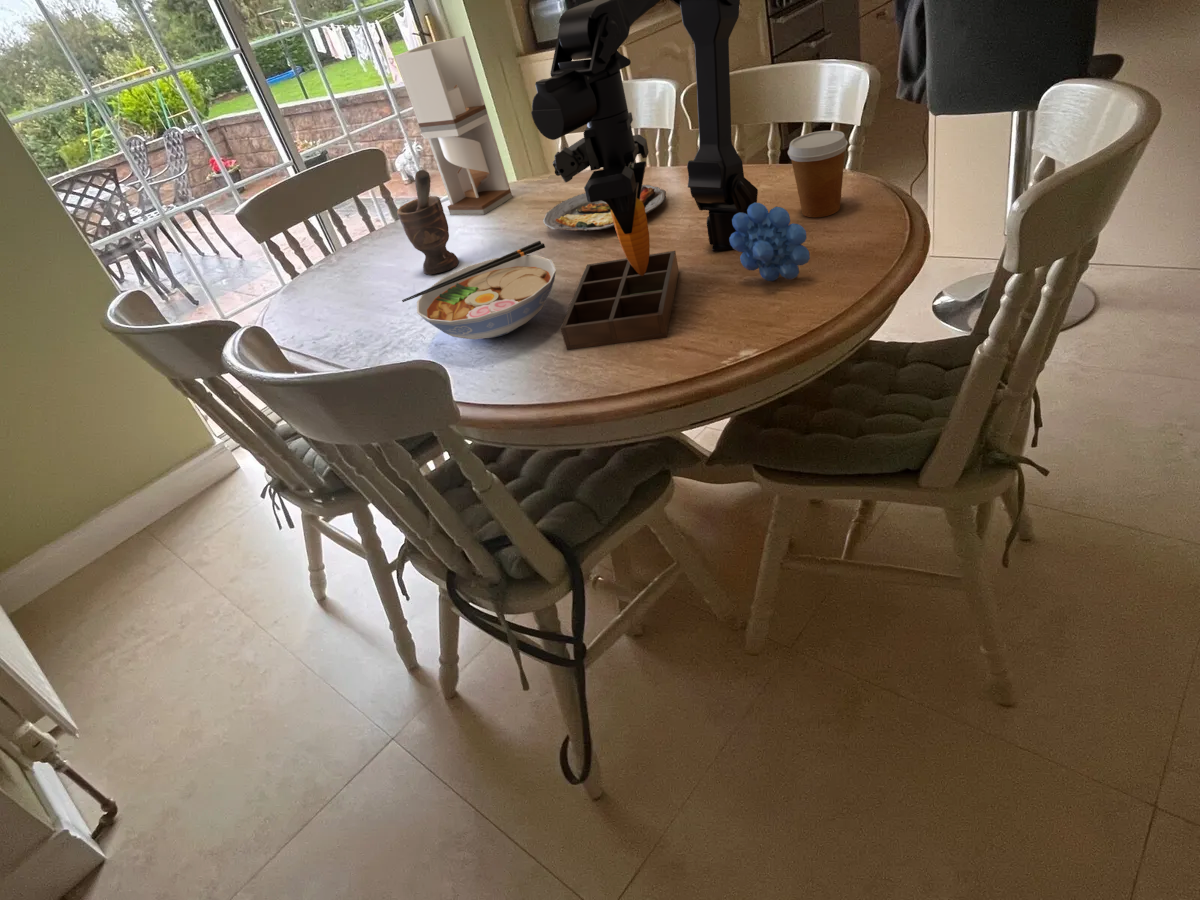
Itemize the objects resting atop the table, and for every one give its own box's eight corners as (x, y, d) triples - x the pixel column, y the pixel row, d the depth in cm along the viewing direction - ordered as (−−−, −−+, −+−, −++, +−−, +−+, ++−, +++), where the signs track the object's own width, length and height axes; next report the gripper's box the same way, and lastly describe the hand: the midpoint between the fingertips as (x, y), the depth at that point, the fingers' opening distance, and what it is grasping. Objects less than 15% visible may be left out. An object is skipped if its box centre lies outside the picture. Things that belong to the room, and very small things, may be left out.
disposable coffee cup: (818, 225, 124) (813, 152, 117) (781, 215, 131) (775, 145, 124) (862, 205, 126) (860, 132, 119) (823, 196, 134) (819, 127, 127)
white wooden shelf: (450, 214, 179) (394, 56, 159) (478, 197, 185) (428, 43, 165) (484, 214, 173) (430, 49, 153) (512, 197, 179) (464, 35, 159)
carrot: (656, 279, 109) (633, 175, 101) (623, 284, 110) (599, 183, 103) (660, 266, 113) (639, 166, 105) (629, 272, 114) (605, 173, 107)
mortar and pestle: (481, 258, 149) (447, 157, 138) (455, 278, 144) (417, 174, 132) (439, 258, 155) (403, 161, 144) (412, 277, 150) (373, 178, 138)
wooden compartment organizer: (679, 271, 122) (675, 250, 120) (666, 337, 105) (662, 314, 103) (591, 284, 126) (586, 264, 124) (566, 349, 109) (560, 328, 107)
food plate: (686, 192, 152) (683, 175, 150) (631, 240, 138) (627, 222, 136) (586, 196, 166) (583, 180, 164) (526, 240, 152) (521, 223, 150)
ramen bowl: (444, 384, 109) (424, 335, 104) (413, 332, 127) (395, 288, 122) (596, 321, 114) (583, 272, 110) (545, 279, 132) (532, 235, 128)
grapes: (725, 294, 111) (714, 216, 105) (740, 273, 116) (730, 198, 109) (803, 294, 106) (797, 212, 99) (815, 272, 110) (810, 193, 103)
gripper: (563, 107, 108) (588, 212, 117) (533, 145, 94) (565, 261, 103) (637, 91, 105) (658, 199, 114) (618, 128, 91) (643, 248, 100)
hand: (630, 226), depth 108 cm, fingers closed on carrot, 5 cm apart
